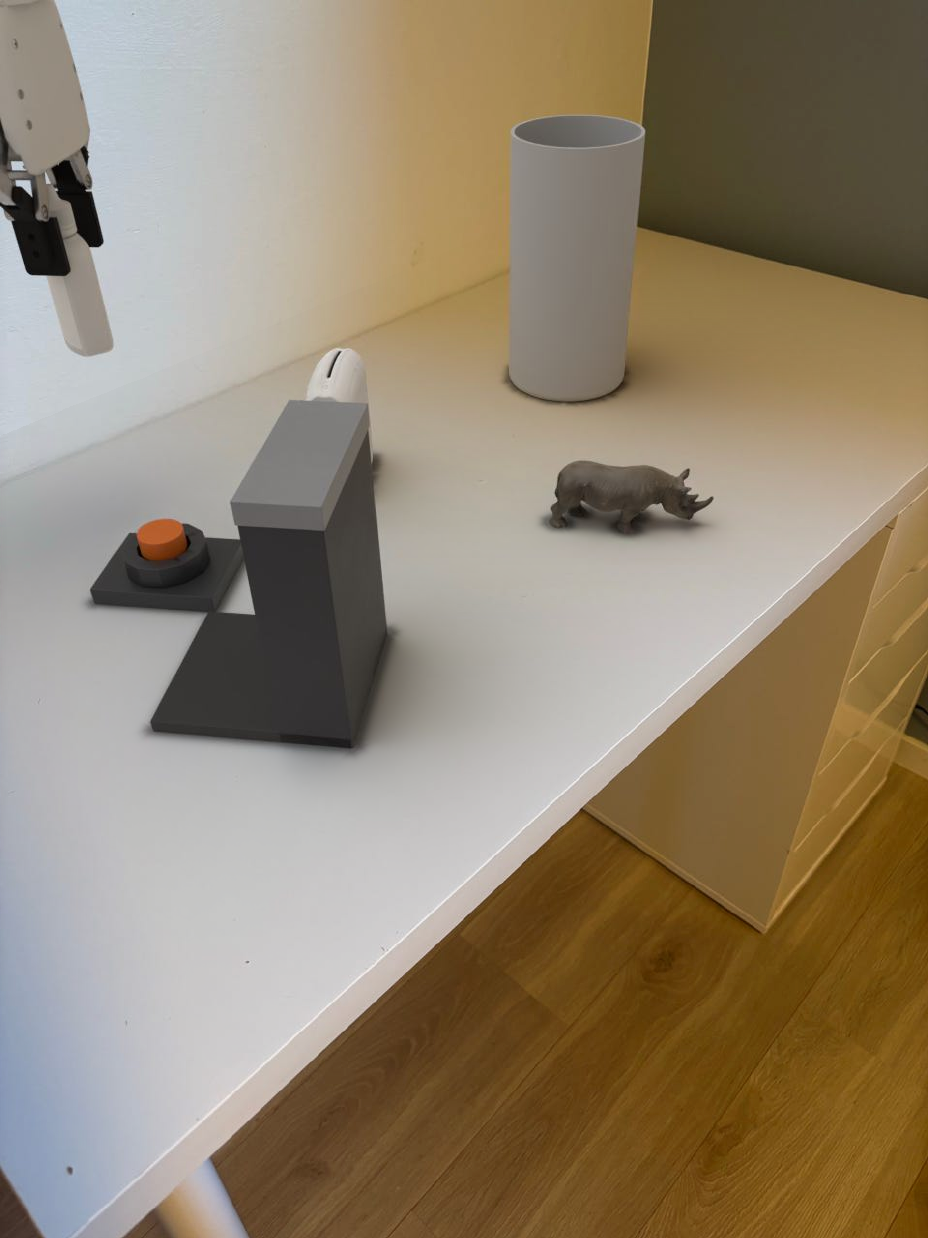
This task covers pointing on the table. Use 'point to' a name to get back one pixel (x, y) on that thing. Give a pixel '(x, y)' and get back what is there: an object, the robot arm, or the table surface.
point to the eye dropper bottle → (78, 289)
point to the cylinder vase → (572, 253)
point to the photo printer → (340, 380)
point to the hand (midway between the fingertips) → (66, 256)
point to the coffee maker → (294, 594)
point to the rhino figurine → (621, 492)
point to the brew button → (162, 539)
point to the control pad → (170, 575)
